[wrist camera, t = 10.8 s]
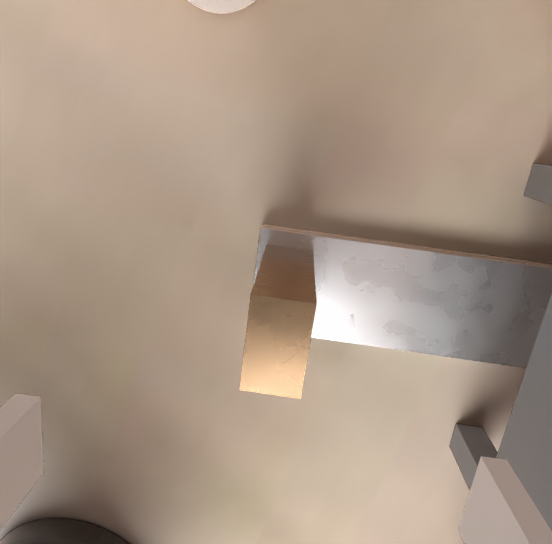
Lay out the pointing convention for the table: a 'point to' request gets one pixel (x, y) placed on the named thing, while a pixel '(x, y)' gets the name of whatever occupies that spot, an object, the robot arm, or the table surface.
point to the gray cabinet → (522, 405)
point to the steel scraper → (384, 303)
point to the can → (221, 5)
